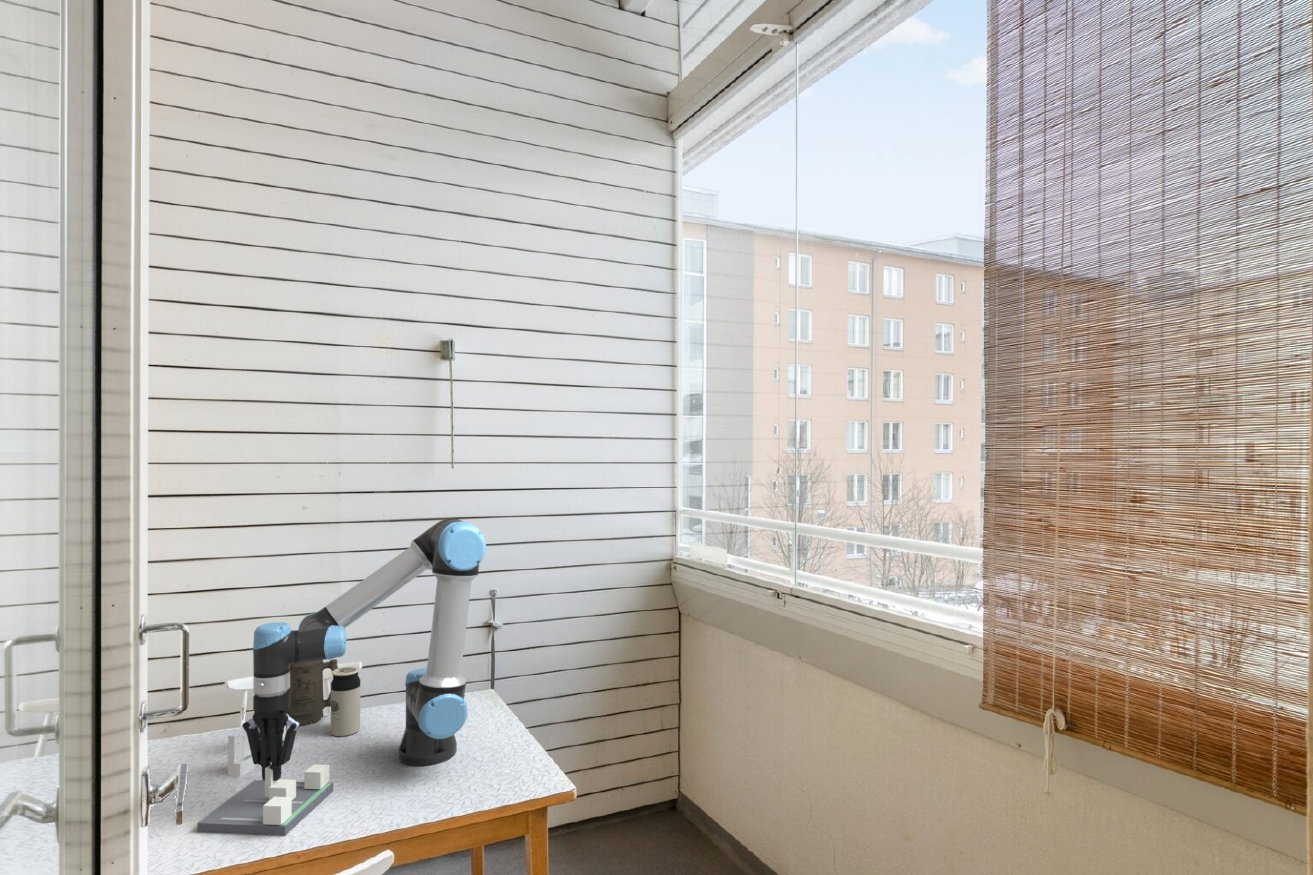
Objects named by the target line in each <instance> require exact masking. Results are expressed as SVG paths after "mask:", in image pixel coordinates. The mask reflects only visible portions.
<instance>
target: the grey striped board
mask: <svg viewBox="0 0 1313 875" xmlns="http://www.w3.org/2000/svg"><path fill="white" fill-rule="evenodd" d="M333 792H334V782H328V783H327V784H326V785H325V786H324V787H323V788H321V789H304V781H296V797H295V798H294V799H293V800H292V815H291V816H290V817H289V818H288V819H287V820H286V821H285V822H284V823H282V824H281V825H270V824H263V805H265V804H266V803H267V802H268V801H269V797H265V781H263V780H262V779H254V780H253V781H252V782H250V783H249V784H247V785H246V786H245V787H243V788H242V789H240V790H239V791H238V792H237V793H235V794H233V796H231V797H230V798H229V799H227V800H226V801H225V802H223V803H221V804H220V805H219V806H218V807H217V808H215V809H214V810H212V811H211V812H210V813H208V814H207V815H206V816H205V817H203V818H202V819H201V820H199V821H198V822H197V823H196V832H197V833H206V834H208V833H210V834H211V833H212V834H234V835H252V836H253V835H256V836H257V835H258V836H279V837H280V836H281V837H282V836H284V837H285V836H287V835H288V834H289V833H290V832H291V831H292V830H293V829H294V828H295V827H296V826H298V825H299V822H300V821H301V820H302V819H303V820H304V819H305V818H306V817H308V815H309V814H310V813H312V812H313V811H314V810H315V809H316V807H318V806H319V805H321V803H323V801H324V800H325V799H327V797H328V796H330V795H331V794H332V793H333ZM303 820H302V821H303ZM302 821H301V822H302ZM301 822H300V823H301ZM289 831H290V832H289Z"/></svg>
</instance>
